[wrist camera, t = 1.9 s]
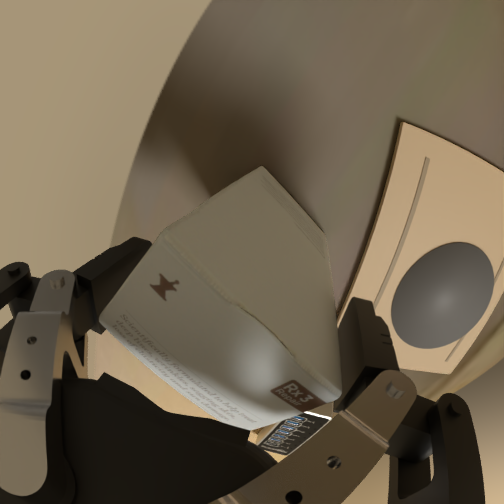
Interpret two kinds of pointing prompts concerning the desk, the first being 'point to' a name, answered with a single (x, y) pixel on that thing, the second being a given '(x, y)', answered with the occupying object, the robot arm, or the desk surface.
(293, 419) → the multiport hub
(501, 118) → the desk surface
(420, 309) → the beige flat board
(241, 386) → the skincare box
